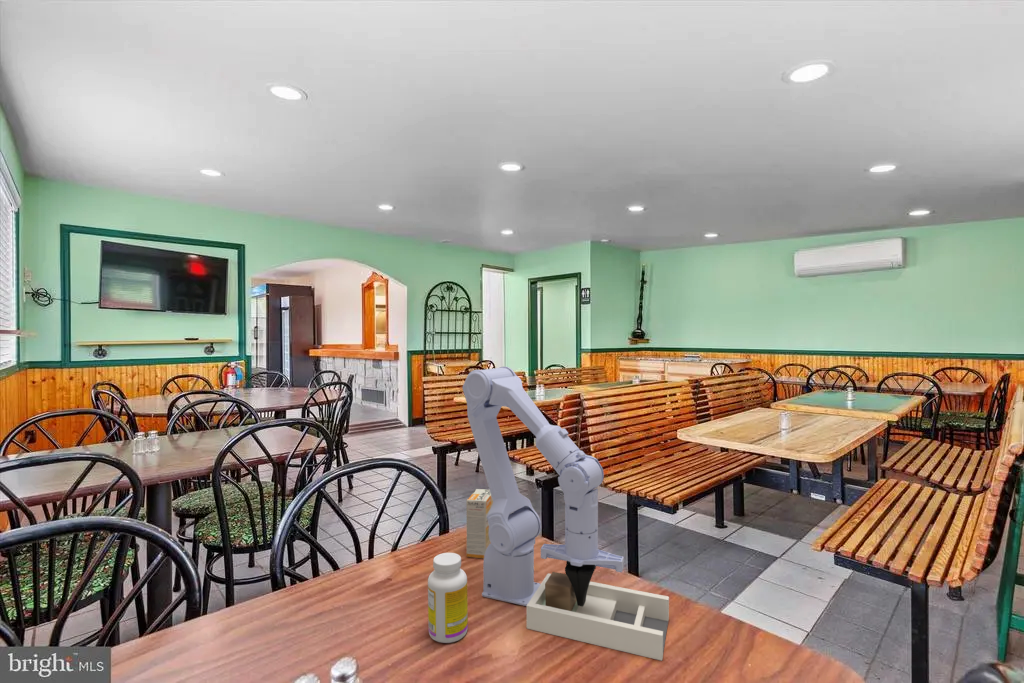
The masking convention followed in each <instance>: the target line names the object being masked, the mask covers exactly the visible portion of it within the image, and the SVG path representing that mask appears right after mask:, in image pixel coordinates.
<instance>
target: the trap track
mask: <svg viewBox="0 0 1024 683" xmlns="http://www.w3.org/2000/svg"><path fill="white" fill-rule="evenodd" d="M551 574H552V573H547V574H546V575H545V577H544V579H543V580H542V581H541V583H540V584H541V585H540V586H539V588H538V589H537V591H536V592H535V594H534V595H533V597H532V598H531V600H530V601H529V603H528V604H527V606H526V629H527V630H532V631H535V632H541V633H545V634H549V635H553V636H557V637H562V638H565V639H569V640H574V641H578V642H582V643H587V644H591V645H595V646H598V647H599V646H600V647H603V648H607V649H612V650H615V651H619V652H624V653H628V654H633V655H635V656H640V657H645V658H650V659H654V660H656V661H663V658H664V650H665V644H666V639H667V632H668V626H669V618H670V613H669V612H670V611H669V610H670V597H669V596H668V595H662V594H658V593H651V592H647V591H641V590H636V589H632V588H627V587H621V586H617V585H611V584H605V583H601V582H595V581H591V580H590V583H589V586H588V590H587V595H586V601H585V604H584V606H583V607H582V606H578V605H577V601H576V603H575V605H574V607H573V609H572V611H568V610H563V609H558V608H554V607H549V606H546V599H545V583H546V581H547V580H548V578H549V577H550V575H551Z"/></svg>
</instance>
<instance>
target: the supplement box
mask: <svg viewBox="0 0 1024 683" xmlns="http://www.w3.org/2000/svg"><path fill="white" fill-rule="evenodd" d="M465 503H466V504H465V505H466V506H465V507H466V557H467V558H473V559H475V558H476V559H483V560H484V555H485V552H486V549H487V547H488V545H489V544H490V543H491V542H490V539H489V533H488V532H489V524H488V520H487V515H488V512H489V510H490V508H491V506H492V504H493V500H492V496H491V493H490V490H489V489H487V488H485V489H481V488H476V489H475V490H474V491H473V492H472V493H471V495H470V496H468V497H467V499H466V502H465Z"/></svg>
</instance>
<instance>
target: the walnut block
mask: <svg viewBox="0 0 1024 683" xmlns="http://www.w3.org/2000/svg"><path fill="white" fill-rule="evenodd" d="M550 574H551V575H550V577H549V578H548V580H547V581H546V583H545V599H546V606H549V607H554V608H558V609H563V610H568V611H572V609H573V607H574V605H575V603H576V601H577V600H576V596H575V592H574V589H573V587H572V584H571V582H570V580H569V578H568V576H567V575H566V573H563V572H555V571H552V572H551V573H550Z"/></svg>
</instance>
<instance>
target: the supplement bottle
mask: <svg viewBox="0 0 1024 683" xmlns="http://www.w3.org/2000/svg"><path fill="white" fill-rule="evenodd" d="M432 561H433V563H432V564H433V565H432V568H433V571H432V572H431V573H430V574H429V576H428V577H427V578H428V579H427V609H428V610H427V613H428V614H427V617H428V619H427V620H428V621H427V622H428V624H427V625H428V634H429V637H430V638H431V639H432V640H434V641H435V642H438V643H442V644H451V643H455V642H457V641H459V640H461V639H463V638H464V637H465V636H466V634H467V632H468V626H469V625H468V624H469V622H468V621H469V619H468V613H469V612H468V611H469V610H468V609H469V608H468V576H467V574H466V572H465V571H464V570H463V569H462V568H461V566H462V557H461V555H460V554H458V553H455V552H443V553H440V554H439V553H438V554H437V555H436V556H434V558H433V560H432Z"/></svg>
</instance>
